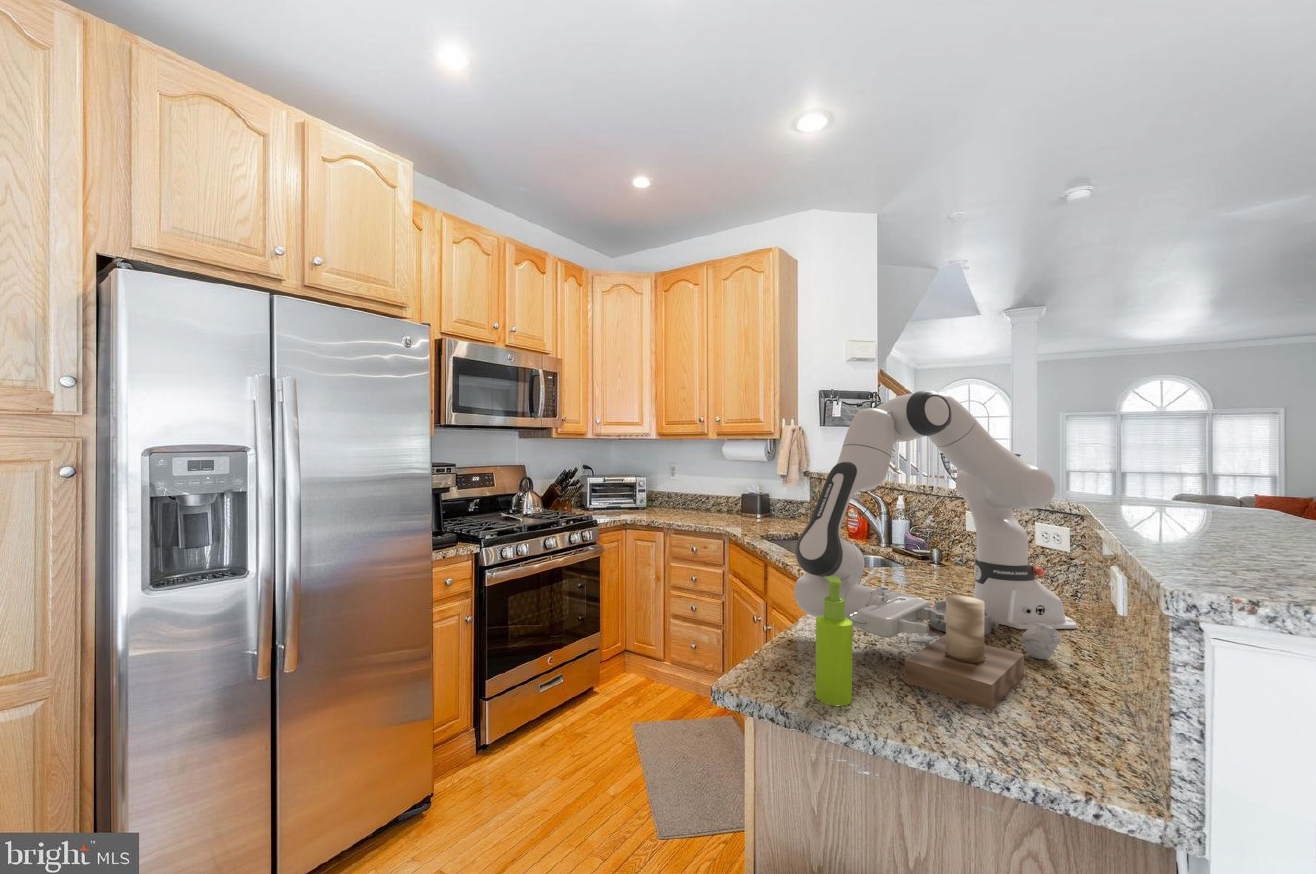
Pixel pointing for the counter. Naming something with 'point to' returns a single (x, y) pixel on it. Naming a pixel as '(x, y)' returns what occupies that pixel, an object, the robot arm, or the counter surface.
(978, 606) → the maple leg
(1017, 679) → the walnut board
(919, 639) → the fork
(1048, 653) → the frog figurine
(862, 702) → the counter surface
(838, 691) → the soap dispenser
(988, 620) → the dish
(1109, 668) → the counter surface
